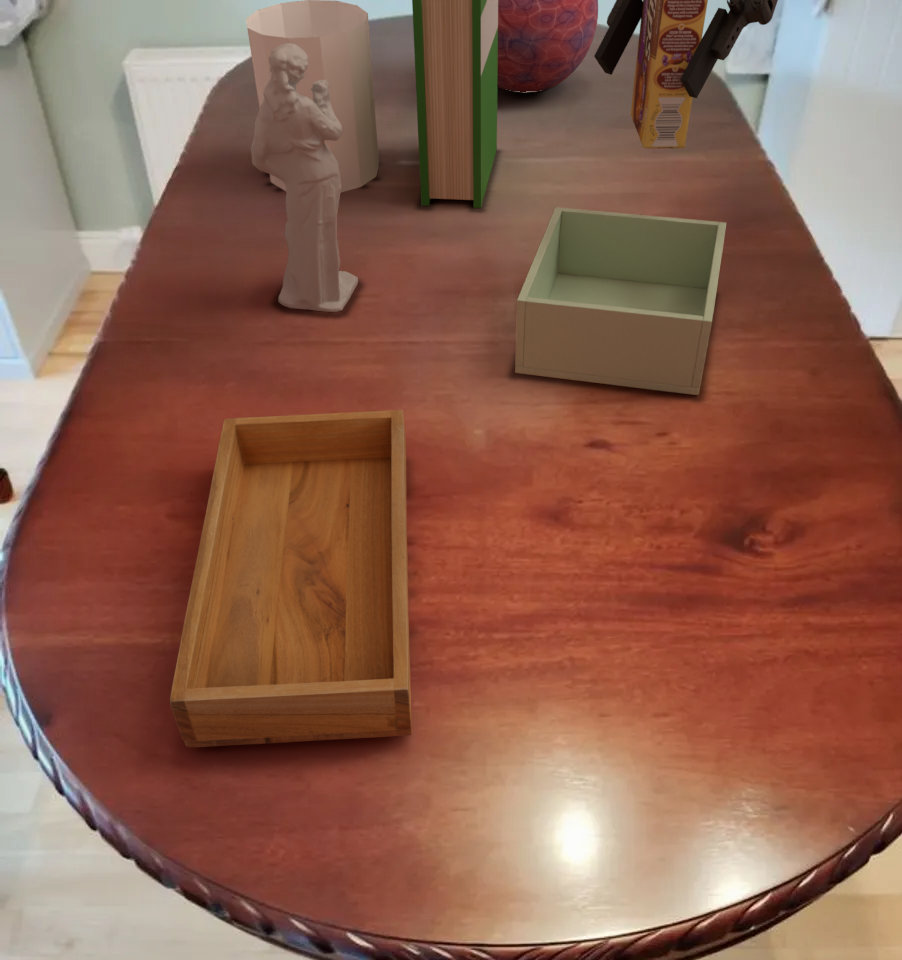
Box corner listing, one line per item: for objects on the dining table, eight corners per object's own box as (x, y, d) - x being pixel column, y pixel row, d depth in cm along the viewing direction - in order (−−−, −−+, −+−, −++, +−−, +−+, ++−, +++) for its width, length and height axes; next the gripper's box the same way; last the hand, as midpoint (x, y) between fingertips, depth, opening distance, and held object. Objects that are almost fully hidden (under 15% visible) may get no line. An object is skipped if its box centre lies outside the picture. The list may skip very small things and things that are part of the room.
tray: (234, 467, 88) (222, 413, 84) (406, 459, 88) (403, 405, 84) (186, 755, 66) (166, 701, 62) (413, 743, 67) (409, 689, 63)
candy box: (689, 149, 93) (716, -41, 82) (643, 151, 93) (663, -39, 82) (673, 113, 99) (695, -68, 88) (629, 115, 99) (646, -66, 88)
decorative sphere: (610, 106, 144) (624, -56, 130) (476, 120, 142) (474, -43, 127) (569, 60, 158) (578, -90, 144) (446, 73, 155) (442, -79, 141)
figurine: (342, 263, 113) (315, 17, 95) (375, 302, 107) (353, 47, 89) (262, 282, 111) (219, 34, 93) (291, 323, 104) (251, 65, 86)
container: (389, 152, 135) (379, 1, 122) (364, 198, 125) (351, 40, 112) (286, 146, 137) (266, -2, 124) (254, 191, 127) (228, 36, 114)
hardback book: (480, 208, 122) (480, -15, 105) (421, 205, 123) (411, -16, 106) (496, 149, 134) (498, -59, 117) (442, 148, 135) (436, -60, 118)
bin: (713, 292, 107) (726, 222, 101) (698, 395, 94) (712, 321, 88) (551, 276, 110) (555, 206, 105) (514, 373, 97) (516, 300, 91)
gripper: (897, -124, 84) (758, 128, 88) (685, -151, 95) (569, 74, 99) (885, -194, 78) (735, 80, 82) (658, -215, 89) (535, 28, 92)
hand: (644, 76), depth 90 cm, fingers closed on candy box, 9 cm apart
